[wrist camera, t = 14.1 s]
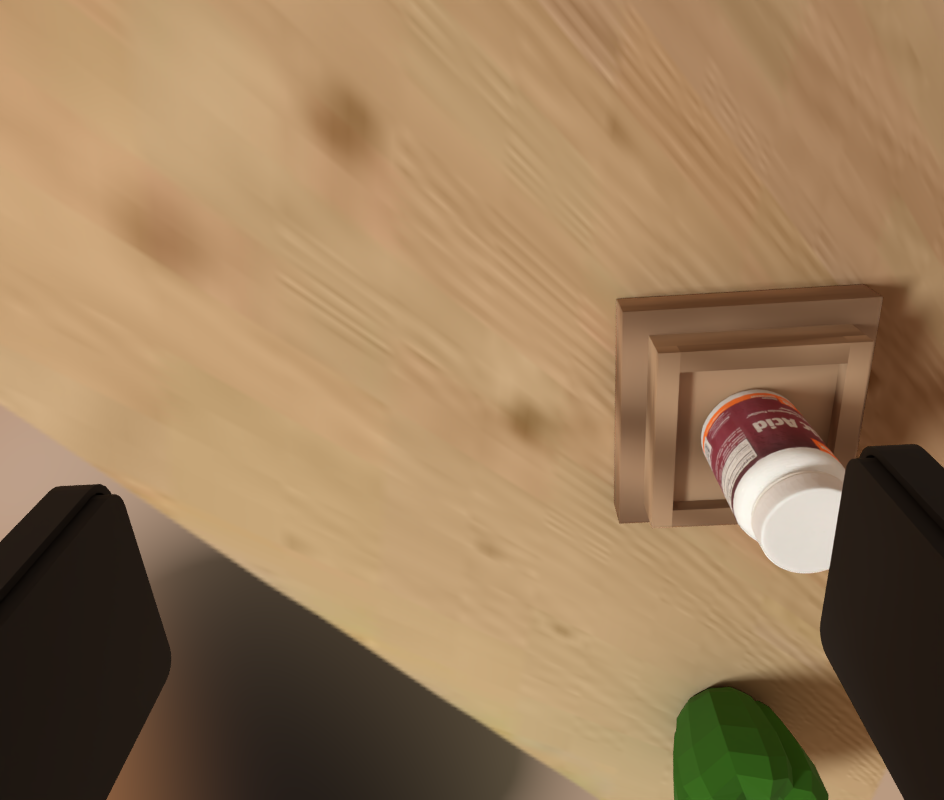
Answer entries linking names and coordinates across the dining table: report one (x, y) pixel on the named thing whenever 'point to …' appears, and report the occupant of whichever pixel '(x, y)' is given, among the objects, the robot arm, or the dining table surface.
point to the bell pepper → (739, 752)
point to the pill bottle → (776, 477)
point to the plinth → (729, 384)
